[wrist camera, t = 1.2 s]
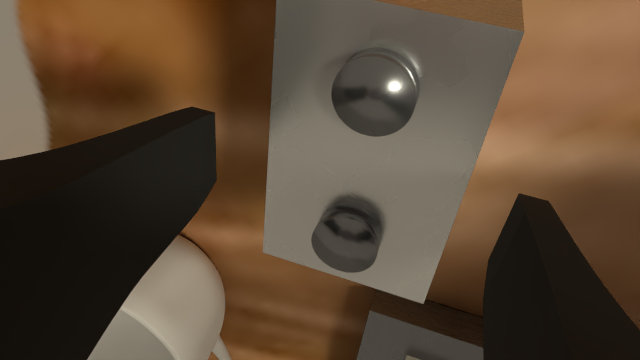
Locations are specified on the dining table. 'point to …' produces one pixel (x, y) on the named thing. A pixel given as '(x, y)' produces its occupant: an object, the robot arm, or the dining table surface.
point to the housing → (380, 130)
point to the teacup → (170, 311)
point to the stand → (419, 331)
